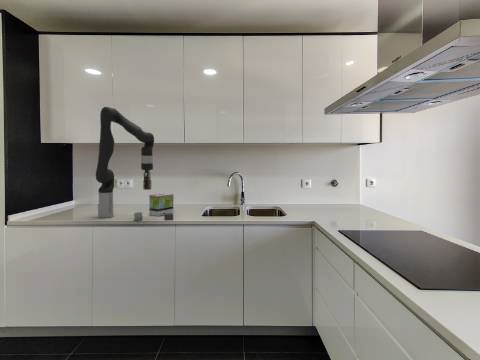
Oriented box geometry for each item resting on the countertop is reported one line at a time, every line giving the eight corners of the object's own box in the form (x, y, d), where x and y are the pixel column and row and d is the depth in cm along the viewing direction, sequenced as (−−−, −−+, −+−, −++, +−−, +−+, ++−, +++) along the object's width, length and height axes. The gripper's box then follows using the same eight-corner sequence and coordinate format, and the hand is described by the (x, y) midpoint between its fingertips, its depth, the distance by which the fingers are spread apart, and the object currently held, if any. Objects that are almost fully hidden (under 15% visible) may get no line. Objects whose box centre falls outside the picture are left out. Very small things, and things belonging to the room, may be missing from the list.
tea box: (158, 216, 213) (158, 195, 211) (149, 215, 218) (148, 194, 217) (173, 213, 225) (173, 193, 224) (164, 211, 231) (164, 192, 229)
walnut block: (143, 189, 199) (143, 180, 198) (144, 188, 203) (144, 180, 203) (150, 189, 199) (150, 180, 199) (151, 188, 204) (151, 180, 203)
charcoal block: (165, 220, 200) (165, 214, 200) (164, 219, 205) (164, 213, 204) (173, 220, 202) (173, 214, 202) (171, 218, 207) (171, 212, 206)
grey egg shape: (133, 221, 197) (133, 213, 197) (135, 219, 202) (134, 212, 202) (141, 221, 198) (141, 213, 197) (142, 219, 203) (142, 212, 202)
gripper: (143, 162, 206) (143, 187, 208) (139, 162, 192) (139, 189, 194) (154, 162, 207) (154, 187, 209) (151, 162, 193) (151, 189, 195)
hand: (147, 188), depth 201 cm, fingers closed on walnut block, 4 cm apart
